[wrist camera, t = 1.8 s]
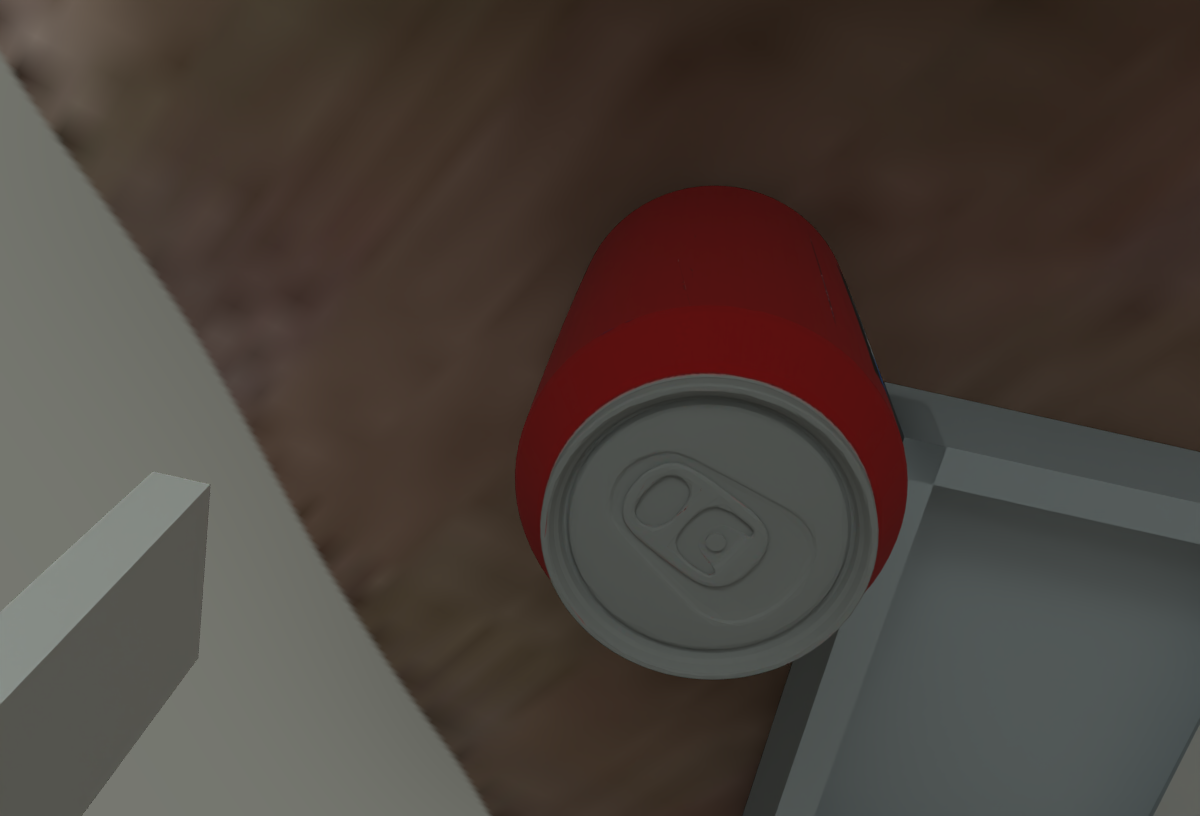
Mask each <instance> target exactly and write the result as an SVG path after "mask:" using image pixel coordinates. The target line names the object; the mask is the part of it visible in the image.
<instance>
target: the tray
mask: <svg viewBox="0 0 1200 816" xmlns="http://www.w3.org/2000/svg"><path fill="white" fill-rule="evenodd" d="M884 386H885V389H886V393H887V396H888V399H889V402H890V405H891V408H892V411H893V414H894V417H895V420H896V423H897V426H898V429H899V432H900V435H901V439H902V442H903V446H904V451H905V457H906V462H907V475H908V490H907V501H906V509H905V514H904V518H903V522H902V526H901V529H900V532H899V535H898V538H897V541H896V543H895V545H894V548H893V550H892V552H891V554H890V556H889V558H888V560H887V562H886V563H885V565H884V567H883V569H882V570H881V572H880V573H879V575H878V576H877V578H876V579H875V581H874V582H873V583H872V585H871V586H870V587H869V588H868V589H867V591H866V592H865V593H864V595H863V597H862V598H861V600H860V602H859V603H858V605H857V606H856V608H855V609H854V611H853V613H852V614H851V615H850V617H849V618H848V619H847V620H846V621H845V622H844V623H843V625H842V626H841V627H840V628H839V629H838V630H837V631H836V632H835V633H834V634H833V635H832V636H831V637H829V638H828V639H827V640H826V641H825V642H823V643H822V644H821V645H819V646H818V647H817V648H815V649H814V650H812V651H811V652H809V653H808V654H806V655H804V656H802V657H801V658H799V659H797V660H795V661H793V662H792V666H791V669H790V672H789V675H788V678H787V681H786V684H785V687H784V690H783V693H782V696H781V699H780V702H779V705H778V708H777V711H776V714H775V718H774V721H773V724H772V727H771V730H770V733H769V736H768V739H767V742H766V745H765V748H764V751H763V754H762V757H761V760H760V763H759V766H758V770H757V773H756V776H755V779H754V782H753V785H752V788H751V791H750V794H749V797H748V800H747V803H746V806H745V809H744V812H743V815H742V816H1153V815H1154V813H1155V811H1156V809H1157V807H1158V805H1159V804H1160V802H1161V800H1162V798H1163V796H1164V794H1165V792H1166V790H1167V788H1168V786H1169V784H1170V782H1171V780H1172V778H1173V776H1174V774H1175V772H1176V770H1177V768H1178V766H1179V764H1180V762H1181V760H1182V758H1183V756H1184V754H1185V752H1186V750H1187V748H1188V747H1189V745H1190V743H1191V741H1192V739H1193V737H1194V735H1195V733H1196V731H1197V729H1198V727H1199V725H1200V452H1197V451H1193V450H1188V449H1184V448H1179V447H1175V446H1170V445H1166V444H1161V443H1157V442H1152V441H1148V440H1143V439H1139V438H1134V437H1130V436H1125V435H1121V434H1116V433H1112V432H1107V431H1103V430H1098V429H1094V428H1089V427H1085V426H1080V425H1076V424H1071V423H1067V422H1062V421H1058V420H1053V419H1049V418H1044V417H1040V416H1035V415H1031V414H1026V413H1022V412H1018V411H1013V410H1009V409H1004V408H1000V407H995V406H991V405H986V404H982V403H977V402H973V401H968V400H964V399H959V398H955V397H950V396H946V395H941V394H937V393H932V392H928V391H923V390H919V389H914V388H910V387H905V386H901V385H896V384H892V383H887V382H884Z"/></svg>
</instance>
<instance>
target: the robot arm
mask: <svg viewBox="0 0 1200 816" xmlns="http://www.w3.org/2000/svg"><path fill="white" fill-rule="evenodd" d="M209 497H210V484H207V483H203V482H198V481H194V480H189V479H185V478H181V477H176V476H172V475H167V474H163V473H159V472H154V471H153V472H152V473H151V474H149V475H148V476H147V477H146V478H145V479H144V480H143V481H142V482H141V483H140V484H139V485H137V486H136V487H135V488H134V489H133V490H132V491H131V492H130V493H129V494H128V495H127V496H125V497H124V498H123V499H122V500H121V501H120V502H119V503H118V504H117V505H116V506H115V507H113V509H111V510H110V511H109V512H108V513H107V514H106V515H105V516H104V517H103V518H101V519H100V520H99V521H98V522H97V523H96V524H95V525H94V526H93V527H92V528H91V529H89V531H87V532H86V533H85V534H84V535H83V536H82V537H81V538H80V539H79V540H78V541H76V542H75V543H74V544H73V545H72V546H71V547H70V548H69V549H68V550H67V551H66V552H65V553H63V554H62V555H61V556H60V557H59V558H58V559H57V560H56V561H55V562H54V563H52V564H51V565H50V566H49V567H48V568H47V569H46V570H45V571H44V572H43V573H42V574H40V575H39V576H38V577H37V578H36V579H35V580H34V581H33V582H32V583H31V584H30V585H29V586H27V587H26V588H25V589H24V590H23V591H22V592H21V593H20V594H19V595H18V596H17V597H15V598H14V599H13V600H12V601H11V602H10V603H9V604H8V605H7V606H6V607H5V608H3V610H1V611H0V816H82V815H83V813H84V812H85V811H86V809H87V808H88V807H89V805H90V804H91V803H92V801H93V800H94V798H95V797H96V796H97V794H98V793H99V792H100V790H101V789H102V788H103V786H104V785H105V784H106V782H107V781H108V780H109V778H110V777H111V775H112V774H113V773H114V771H115V770H116V769H117V767H118V766H119V764H120V763H121V762H122V761H123V759H124V758H125V756H126V755H127V754H128V752H129V751H130V750H131V748H132V747H133V745H134V744H135V743H136V742H137V740H138V739H139V737H140V736H141V735H142V733H143V732H144V731H145V729H146V728H147V727H148V725H149V724H150V723H151V721H152V720H153V718H154V717H155V715H156V714H157V713H158V712H159V710H160V709H161V708H162V706H163V705H164V704H165V702H166V701H167V699H168V698H169V697H170V695H171V694H172V692H173V691H174V690H175V689H176V687H177V686H178V685H179V683H180V682H181V680H182V679H183V678H184V676H185V675H186V674H187V672H188V671H189V670H190V668H191V667H192V666H193V664H194V663H195V661H196V660H197V659H198V653H199V652H198V651H199V638H200V624H201V609H202V596H203V582H204V568H205V553H206V539H207V525H208V510H209ZM1153 816H1200V725H1199V727H1198V729H1197V731H1196V733H1195V735H1194V737H1193V739H1192V741H1191V743H1190V745H1189V747H1188V748H1187V750H1186V752H1185V754H1184V756H1183V758H1182V760H1181V762H1180V764H1179V766H1178V768H1177V770H1176V772H1175V774H1174V776H1173V778H1172V780H1171V782H1170V784H1169V786H1168V788H1167V790H1166V792H1165V794H1164V796H1163V798H1162V800H1161V802H1160V804H1159V805H1158V807H1157V809H1156V811H1155V813H1154V815H1153Z"/></svg>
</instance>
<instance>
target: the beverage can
mask: <svg viewBox="0 0 1200 816" xmlns="http://www.w3.org/2000/svg"><path fill="white" fill-rule="evenodd" d="M515 489H516V498H517V505H518V510H519V515H520V519H521V522H522V525H523V529H524V532H525V534H526V537H527V539H528V542H529V544H530V546H531V549H532V551H533V553H534V555H535V557H536V558H537V560H538V562H539V564H540V565H541V567H542V569H543V570H544V572H545V573H546V575H547V576H548V577H549V579H550V580H551V582H552V584H553V587H554V588H555V590H556V592H557V594H558V596H559V597H560V599H561V601H562V602H563V604H564V605H565V607H566V609H567V610H568V611H569V612H570V613H571V615H572V616H573V617H574V618H575V619H576V621H577V622H578V623H579V624H580V625H581V626H582V627H583V628H584V629H585V630H586V631H587V632H588V633H589V634H590V635H591V636H593V637H594V638H595V639H596V640H597V641H599V642H600V643H601V644H603V645H604V646H605V647H607V648H608V649H610V650H611V651H613V652H615V653H616V654H618V655H620V656H622V657H623V658H625V659H627V660H629V661H631V662H634V663H636V664H638V665H640V666H643V667H646V668H648V669H651V670H654V671H658V672H661V673H664V674H669V675H674V676H678V677H685V678H693V679H732V678H740V677H747V676H751V675H756V674H760V673H764V672H767V671H770V670H774V669H776V668H779V667H781V666H784V665H786V664H789V663H791V662H793V661H795V660H797V659H799V658H801V657H802V656H804V655H806V654H808V653H809V652H811V651H812V650H814V649H815V648H817V647H818V646H819V645H821V644H822V643H823V642H825V641H826V640H827V639H828V638H829V637H831V636H832V635H833V634H834V633H835V632H836V631H837V630H838V629H839V628H840V627H841V626H842V625H843V623H844V622H845V621H846V620H847V619H848V618H849V617H850V615H851V614H852V613H853V611H854V609H855V608H856V606H857V605H858V603H859V602H860V600H861V598H862V597H863V595H864V593H865V592H866V591H867V589H868V588H869V587H870V586H871V585H872V583H873V582H874V581H875V579H876V578H877V576H878V575H879V573H880V572H881V570H882V569H883V567H884V565H885V563H886V562H887V560H888V558H889V556H890V554H891V552H892V550H893V548H894V545H895V543H896V541H897V538H898V535H899V532H900V529H901V526H902V522H903V518H904V514H905V509H906V501H907V490H908V475H907V462H906V457H905V451H904V446H903V442H902V439H901V435H900V432H899V429H898V426H897V423H896V420H895V417H894V414H893V411H892V408H891V405H890V402H889V399H888V396H887V393H886V389H885V386H884V383H883V380H882V378H881V375H880V372H879V369H878V366H877V364H876V361H875V358H874V355H873V352H872V350H871V347H870V344H869V341H868V339H867V336H866V333H865V331H864V328H863V325H862V323H861V320H860V317H859V315H858V312H857V309H856V307H855V304H854V302H853V299H852V296H851V294H850V291H849V289H848V286H847V284H846V282H845V279H844V277H843V274H842V272H841V270H840V267H839V265H838V263H837V261H836V259H835V257H834V254H833V253H832V251H831V249H830V248H829V246H828V245H827V243H826V242H825V240H824V239H823V238H822V236H821V235H820V234H819V233H818V232H817V231H816V229H815V228H814V227H813V226H812V225H811V224H810V223H809V222H808V221H806V220H805V219H804V218H803V217H802V216H801V215H799V214H798V213H797V212H795V211H794V210H793V209H791V208H789V207H788V206H786V205H785V204H783V203H781V202H779V201H777V200H775V199H773V198H771V197H768V196H766V195H763V194H761V193H757V192H754V191H751V190H747V189H742V188H737V187H728V186H700V187H693V188H687V189H683V190H678V191H675V192H672V193H669V194H665V195H663V196H661V197H658V198H656V199H654V200H652V201H650V202H648V203H646V204H644V205H642V206H641V207H639V208H638V209H636V210H635V211H633V212H632V213H631V214H629V215H628V216H627V217H625V218H624V219H623V220H622V221H621V222H620V223H619V224H618V225H617V226H616V227H615V228H614V229H613V230H612V231H611V232H610V233H609V234H608V235H607V237H606V238H605V239H604V241H603V242H602V243H601V245H600V246H599V248H598V250H597V251H596V253H595V255H594V256H593V259H592V261H591V263H590V265H589V267H588V269H587V271H586V273H585V276H584V278H583V280H582V282H581V284H580V286H579V289H578V291H577V293H576V295H575V298H574V300H573V302H572V305H571V307H570V310H569V312H568V314H567V317H566V319H565V321H564V324H563V326H562V329H561V331H560V334H559V336H558V339H557V341H556V344H555V346H554V349H553V351H552V354H551V356H550V359H549V361H548V364H547V366H546V369H545V372H544V374H543V377H542V379H541V382H540V385H539V387H538V390H537V393H536V395H535V398H534V401H533V403H532V406H531V409H530V411H529V414H528V417H527V420H526V422H525V425H524V428H523V431H522V434H521V438H520V442H519V446H518V452H517V457H516V469H515Z"/></svg>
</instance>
